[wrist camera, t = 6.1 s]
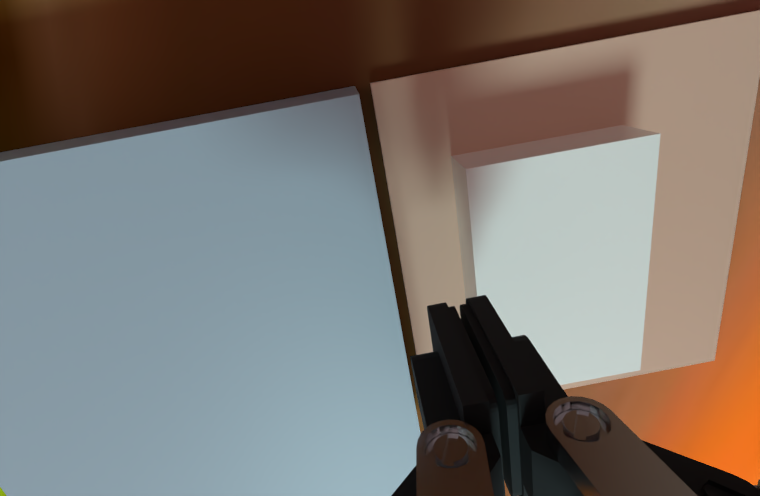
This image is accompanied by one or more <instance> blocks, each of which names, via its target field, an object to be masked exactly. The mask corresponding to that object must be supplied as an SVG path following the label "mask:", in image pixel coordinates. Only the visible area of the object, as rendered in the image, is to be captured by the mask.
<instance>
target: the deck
mask: <svg viewBox="0 0 760 496" xmlns="http://www.w3.org/2000/svg"><path fill="white" fill-rule="evenodd" d="M420 435H421V434H420V429H419V423H418V418H417V412H416V406H415V401H414V395H413V390H412V384H411V379H410V373H409V368H408V362H407V357H406V351H405V346H404V340H403V335H402V329H401V324H400V318H399V313H398V307H397V301H396V296H395V290H394V285H393V279H392V274H391V268H390V263H389V257H388V252H387V246H386V241H385V235H384V230H383V224H382V219H381V213H380V208H379V202H378V196H377V191H376V185H375V180H374V174H373V169H372V163H371V158H370V152H369V147H368V141H367V136H366V130H365V125H364V119H363V114H362V108H361V103H360V97H359V93H358V91H357V89H356V87H355V86H351V87H346V88H341V89H335V90H330V91H325V92H319V93H314V94H309V95H303V96H298V97H293V98H287V99H282V100H277V101H271V102H266V103H261V104H256V105H250V106H245V107H240V108H234V109H229V110H224V111H218V112H213V113H208V114H202V115H197V116H192V117H186V118H181V119H176V120H170V121H165V122H160V123H154V124H149V125H144V126H138V127H133V128H128V129H122V130H117V131H112V132H107V133H101V134H96V135H91V136H85V137H80V138H75V139H69V140H64V141H59V142H53V143H48V144H43V145H37V146H32V147H27V148H21V149H16V150H11V151H5V152H0V487H1V488H2V490H3V491H4V492H5V494H6V495H7V496H392V494H393V493H394V492H395V491H396V489H397V488H398V487H399V486H400V484H401V483H402V482H403V481H404V480H405V478H406V477H407V476H408V475H409V473H410V472H411V471H412V470H413V468H414V467H415V466H416V446H417V441H418V438H419V436H420Z"/></svg>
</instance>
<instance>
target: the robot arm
mask: <svg viewBox="0 0 760 496" xmlns="http://www.w3.org/2000/svg"><path fill="white" fill-rule="evenodd" d="M427 312H428V319H429V326H430V333H431V340H432V347H433V352H430V353H424V354H419V355H414V356H410V358H411V365H412V370H413V376H414V382H415V387H416V393H417V398H418V403H419V407H420V412H421V416H422V421H423V425H424V431H422V433H421V435H420V436H419V438H418V441H417V446H416V466H415V467H414V468H413V470H412V471H411V472H410V473H409V475H408V476H407V477H406V478H405V480H404V481H403V482H402V483H401V484H400V486H399V487H398V488H397V489H396V491H395V492H394V493H393V494H392V496H505V486H504V480H505V483H506V485H507V488H508V490H509V493H510V495H511V496H518V495H519V496H760V479H759V481H758V485H752V484H750V483H749V482H747V481H746V480H743V479H741V478H739V477H737V476H735V475H733V474H730V473H728V472H725V471H722V470H720V469H717V468H714V467H712V466H709V465H706V464H704V463H701V462H698V461H696V460H693V459H690V458H688V457H685V456H682V455H680V454H677V453H674V452H672V451H669V450H666V449H664V448H661V447H658V446H656V445H653V444H650V443H648V442H645V441H642V440H641V439H640V438H639V437H638V436H637V435H636V434H635V433H633V432H632V431H631V430H630V429H629V428H628V427H627V426H626V425H625V424H624V423H623V422H622V421H621V420H620V419H619V418H618V417H617V416H616V415H615V414H614V413H613V412H612V411H611V410H610V409H609V408H607V407H606V406H605V405H603V404H601V403H599V402H597V401H595V400H593V399H589V398H585V397H574V396H570V397H568V396H567V395H566V393H565V392H564V390H563V389H562V387H561V386H560V384H559V383H558V381H557V380H556V378H555V377H554V375H553V374H552V372H551V371H550V369H549V368H548V366H547V365H546V363H545V362H544V360H543V359H542V357H541V356H540V354H539V353H538V351H537V350H536V349H535V347H534V346H533V344H532V343H531V341H530V340H529V338H528V337H527V336H526V335H520V336H515V337H511V335H510V333H509V332H508V330H507V328H506V327H505V325H504V324H503V322H502V320H501V319H500V317H499V315H498V314H497V312H496V310H495V309H494V307H493V306H492V304H491V302H490V301H489V299H488V297H487V296H486V295H482V296H477V297H471V298H466V304H462V305H460V316H461V319H460V316H459V314H458V312H457V310H456V308H455V306H451V307H448V305H447V303H446V302H444V303H439V304H434V305H428V306H427Z"/></svg>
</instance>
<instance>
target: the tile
mask: <svg viewBox="0 0 760 496" xmlns="http://www.w3.org/2000/svg"><path fill="white" fill-rule="evenodd" d="M659 146H660V133H656V132H652V131H647V130H643V129H638V128H634V127H630V126H625V125H619V126H613V127H608V128H602V129H597V130H591V131H586V132H580V133H575V134H569V135H564V136H558V137H553V138H547V139H542V140H536V141H531V142H525V143H520V144H514V145H509V146H504V147H498V148H493V149H487V150H482V151H476V152H471V153H465V154H460V155H454V156H451V162H452V171H453V181H454V191H455V201H456V211H457V221H458V231H459V240H460V250H461V260H462V270H463V280H464V290H465V299H466V298H471V297H477V296H482V295H486V296H487V297H488V299H489V301H490V302H491V304H492V306H493V307H494V309H495V310H496V312H497V314H498V315H499V317H500V319H501V320H502V322H503V324H504V325H505V327H506V328H507V330H508V332H509V333H510V335H511V337H515V336H520V335H526V336H527V337H528V338H529V340H530V341H531V343H532V344H533V346H534V347H535V349H536V350H537V351H538V353H539V354H540V356H541V357H542V359H543V360H544V362H545V363H546V365H547V366H548V368H549V369H550V371H551V372H552V374H553V375H554V377H555V378H556V380H557V381H558V383H559V384H560V385H564V384H569V383H575V382H580V381H585V380H591V379H596V378H601V377H607V376H612V375H618V374H623V373H628V372H634V371H639V370H640V368H641V357H642V345H643V333H644V322H645V310H646V298H647V286H648V275H649V263H650V251H651V240H652V228H653V216H654V205H655V193H656V181H657V169H658V158H659Z"/></svg>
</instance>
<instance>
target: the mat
mask: <svg viewBox="0 0 760 496" xmlns="http://www.w3.org/2000/svg"><path fill="white" fill-rule="evenodd" d="M759 77H760V10H756V11H750V12H745V13H740V14H734V15H729V16H724V17H719V18H713V19H708V20H703V21H697V22H692V23H687V24H681V25H676V26H671V27H665V28H660V29H655V30H649V31H644V32H639V33H633V34H628V35H623V36H617V37H612V38H607V39H601V40H596V41H591V42H585V43H580V44H575V45H569V46H564V47H559V48H554V49H548V50H543V51H538V52H532V53H527V54H522V55H516V56H511V57H506V58H500V59H495V60H490V61H484V62H479V63H474V64H468V65H463V66H458V67H452V68H447V69H442V70H436V71H431V72H426V73H420V74H415V75H410V76H405V77H399V78H394V79H389V80H383V81H378V82H373V83H370V87H371V93H372V98H373V104H374V110H375V116H376V122H377V128H378V134H379V140H380V145H381V151H382V157H383V163H384V169H385V175H386V181H387V187H388V193H389V198H390V204H391V210H392V216H393V222H394V228H395V234H396V240H397V245H398V251H399V257H400V263H401V269H402V275H403V281H404V287H405V293H406V298H407V304H408V310H409V316H410V322H411V328H412V334H413V340H414V345H415V351H416V355H419V354H424V353H430V352H433V347H432V340H431V333H430V326H429V319H428V312H427V306H428V305H434V304H439V303H444V302H446V303H447V305H448V307H451V306H455V308H456V310H457V312H458V314H459V316H460V305H462V304H466V299H465V290H464V280H463V270H462V260H461V250H460V240H459V231H458V221H457V211H456V201H455V191H454V181H453V171H452V162H451V156H454V155H460V154H465V153H471V152H476V151H482V150H487V149H493V148H498V147H504V146H509V145H514V144H520V143H525V142H531V141H536V140H542V139H547V138H553V137H558V136H564V135H569V134H575V133H580V132H586V131H591V130H597V129H602V128H608V127H613V126H619V125H625V126H630V127H634V128H638V129H643V130H647V131H652V132H656V133H660V146H659V158H658V169H657V181H656V193H655V205H654V216H653V228H652V240H651V251H650V263H649V275H648V286H647V298H646V310H645V322H644V333H643V345H642V357H641V368H640V370H639V371H634V372H628V373H623V374H618V375H612V376H607V377H601V378H596V379H591V380H585V381H580V382H575V383H569V384H564V385H560V386H561V387H562V389H568V388H573V387H579V386H584V385H589V384H594V383H599V382H605V381H610V380H615V379H620V378H626V377H631V376H636V375H641V374H647V373H652V372H657V371H662V370H667V369H673V368H678V367H683V366H688V365H694V364H699V363H704V362H709V361H714V360H715V354H716V348H717V342H718V335H719V329H720V323H721V316H722V310H723V304H724V297H725V291H726V285H727V279H728V272H729V266H730V260H731V253H732V247H733V241H734V234H735V228H736V222H737V216H738V209H739V203H740V197H741V190H742V184H743V178H744V172H745V165H746V159H747V153H748V146H749V140H750V134H751V127H752V121H753V115H754V109H755V102H756V96H757V90H758V83H759ZM460 319H461V316H460Z"/></svg>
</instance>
